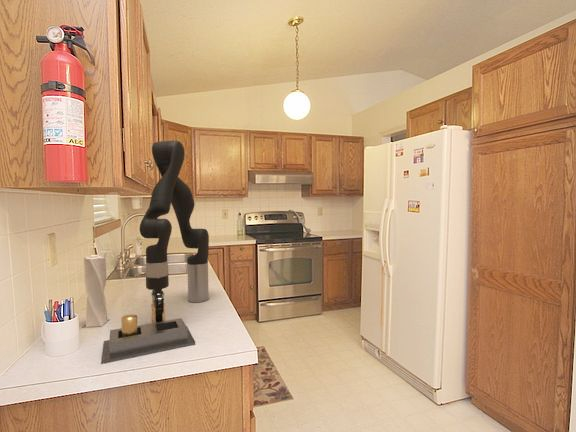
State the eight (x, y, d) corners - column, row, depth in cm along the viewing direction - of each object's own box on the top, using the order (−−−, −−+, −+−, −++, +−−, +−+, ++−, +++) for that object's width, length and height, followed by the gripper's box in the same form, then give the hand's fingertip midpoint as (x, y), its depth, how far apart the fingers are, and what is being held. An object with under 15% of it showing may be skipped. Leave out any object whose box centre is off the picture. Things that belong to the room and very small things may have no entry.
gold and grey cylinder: (151, 327, 117) (150, 303, 116) (164, 325, 119) (163, 301, 118) (152, 332, 113) (151, 306, 112) (166, 329, 115) (165, 304, 114)
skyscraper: (113, 320, 125) (111, 249, 124) (104, 328, 117) (102, 252, 116) (90, 321, 124) (87, 249, 123) (79, 329, 116) (76, 253, 115)
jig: (103, 343, 104) (102, 313, 103) (186, 328, 116) (186, 301, 115) (101, 363, 91) (100, 329, 90) (195, 344, 102) (194, 314, 102)
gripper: (144, 271, 119) (145, 317, 120) (147, 279, 107) (148, 330, 107) (165, 269, 123) (167, 313, 124) (171, 277, 110) (172, 326, 111)
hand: (158, 321), depth 115 cm, fingers closed on gold and grey cylinder, 4 cm apart
